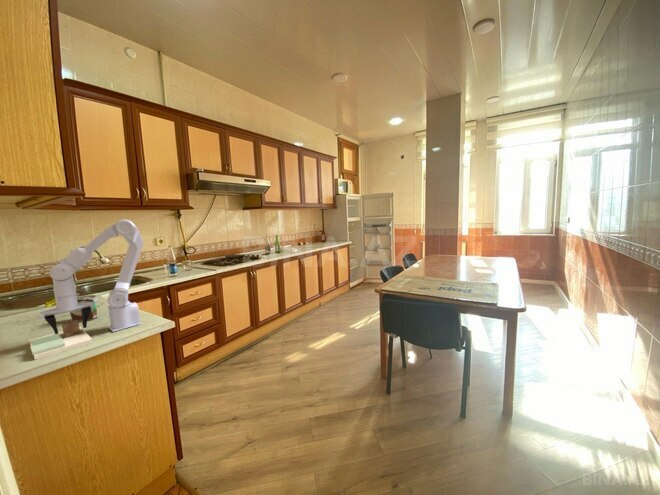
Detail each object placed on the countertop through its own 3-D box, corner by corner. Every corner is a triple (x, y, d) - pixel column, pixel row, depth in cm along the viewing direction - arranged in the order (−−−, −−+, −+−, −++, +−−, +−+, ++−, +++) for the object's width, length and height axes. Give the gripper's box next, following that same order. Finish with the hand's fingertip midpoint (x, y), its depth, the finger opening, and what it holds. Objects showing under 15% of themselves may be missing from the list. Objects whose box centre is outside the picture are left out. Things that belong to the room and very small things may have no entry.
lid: (61, 339, 96) (60, 332, 95) (65, 345, 91) (64, 338, 91) (30, 348, 90) (29, 341, 89) (32, 354, 85) (31, 347, 85)
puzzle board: (81, 329, 108) (80, 326, 108) (92, 342, 96) (91, 339, 96) (29, 343, 97) (28, 339, 97) (34, 360, 85) (34, 355, 85)
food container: (107, 314, 125) (105, 294, 124) (96, 319, 119) (93, 298, 118) (80, 316, 125) (77, 295, 124) (68, 321, 119) (65, 299, 118)
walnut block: (78, 334, 104) (76, 319, 103) (80, 336, 102) (78, 321, 101) (64, 338, 101) (61, 322, 100) (66, 340, 98) (63, 325, 98)
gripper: (89, 289, 107) (93, 322, 109) (36, 299, 96) (42, 335, 98) (93, 292, 103) (98, 326, 105) (38, 302, 92) (44, 340, 93)
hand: (71, 330), depth 101 cm, fingers open, 7 cm apart
